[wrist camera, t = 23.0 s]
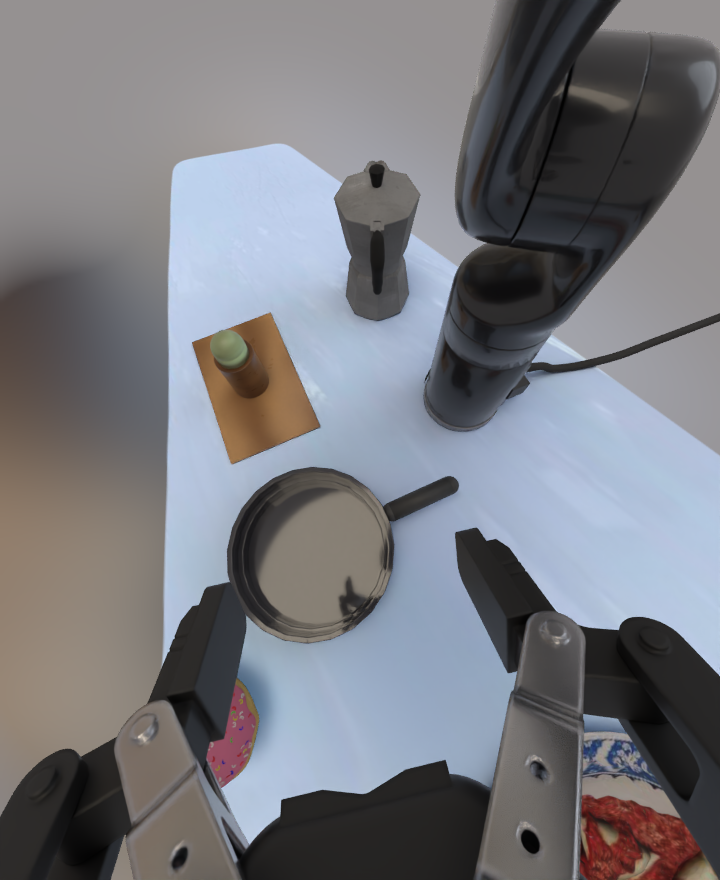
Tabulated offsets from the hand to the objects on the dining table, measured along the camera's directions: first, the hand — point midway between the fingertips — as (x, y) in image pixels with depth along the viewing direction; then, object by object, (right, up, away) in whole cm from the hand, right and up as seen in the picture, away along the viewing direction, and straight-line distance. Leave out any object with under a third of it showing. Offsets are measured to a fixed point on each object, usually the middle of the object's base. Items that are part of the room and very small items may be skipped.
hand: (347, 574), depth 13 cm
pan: (-4, -8, +28) cm, 29 cm away
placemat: (-14, +13, +36) cm, 41 cm away
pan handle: (+7, -2, +27) cm, 28 cm away
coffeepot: (+3, +25, +40) cm, 47 cm away
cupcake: (-13, -22, +23) cm, 35 cm away
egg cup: (-14, +13, +36) cm, 41 cm away
